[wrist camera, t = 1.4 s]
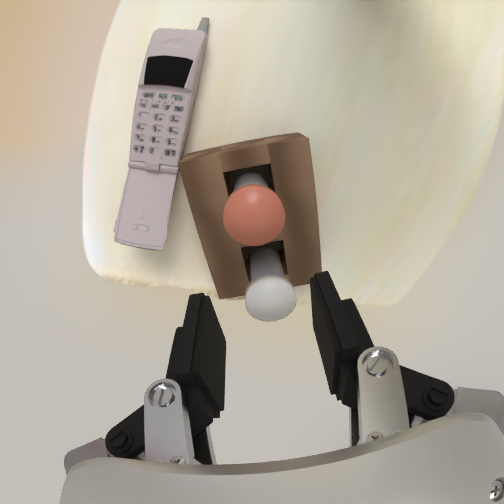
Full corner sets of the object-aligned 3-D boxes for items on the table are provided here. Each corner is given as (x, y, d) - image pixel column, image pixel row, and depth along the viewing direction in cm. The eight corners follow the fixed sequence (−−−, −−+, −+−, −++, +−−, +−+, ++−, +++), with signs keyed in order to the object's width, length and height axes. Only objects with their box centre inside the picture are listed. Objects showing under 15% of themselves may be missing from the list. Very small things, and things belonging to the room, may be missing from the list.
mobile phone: (112, 244, 27) (146, 1, 15) (129, 221, 32) (162, 17, 20) (164, 254, 28) (212, 4, 15) (175, 228, 33) (217, 21, 21)
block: (297, 132, 27) (308, 138, 23) (312, 258, 35) (322, 281, 31) (187, 153, 28) (178, 163, 24) (221, 274, 36) (219, 299, 32)
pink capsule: (269, 162, 24) (280, 183, 18) (277, 205, 27) (288, 240, 20) (223, 171, 25) (216, 195, 18) (232, 213, 27) (230, 250, 21)
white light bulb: (282, 237, 28) (293, 278, 22) (287, 272, 31) (298, 316, 24) (240, 245, 29) (240, 288, 22) (248, 279, 31) (250, 324, 25)
